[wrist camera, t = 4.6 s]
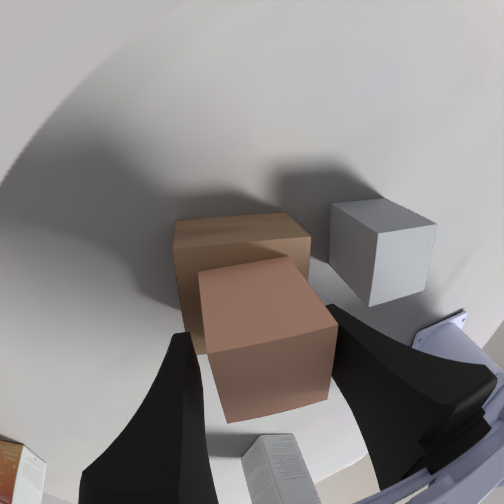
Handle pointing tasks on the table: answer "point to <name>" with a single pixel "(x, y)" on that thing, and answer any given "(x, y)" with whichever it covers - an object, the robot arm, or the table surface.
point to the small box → (20, 475)
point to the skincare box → (278, 472)
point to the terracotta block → (266, 338)
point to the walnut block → (230, 254)
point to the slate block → (380, 248)
